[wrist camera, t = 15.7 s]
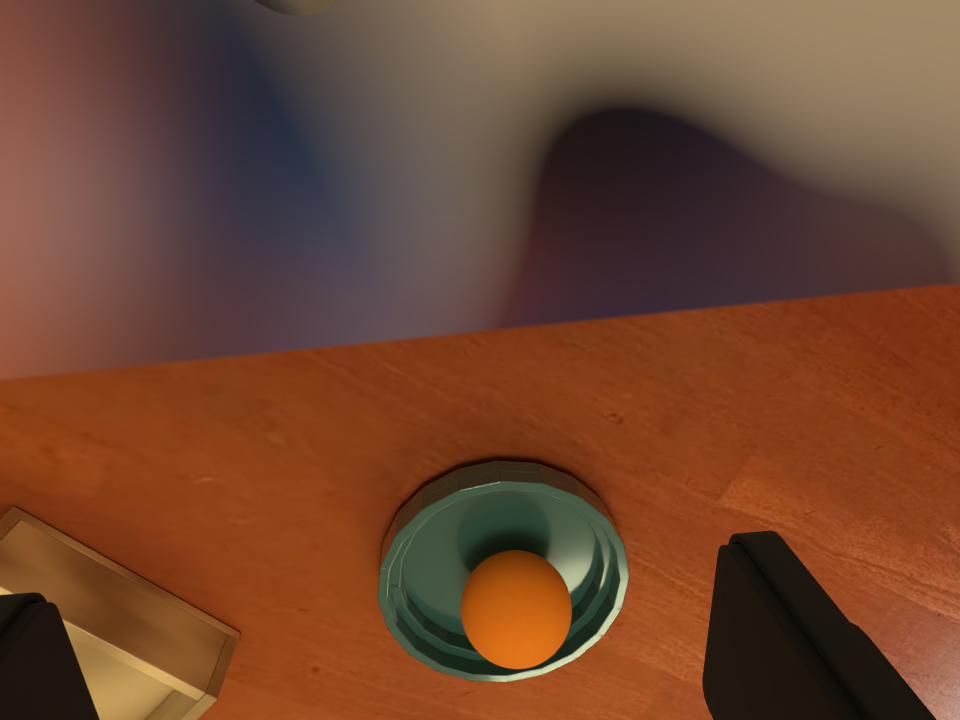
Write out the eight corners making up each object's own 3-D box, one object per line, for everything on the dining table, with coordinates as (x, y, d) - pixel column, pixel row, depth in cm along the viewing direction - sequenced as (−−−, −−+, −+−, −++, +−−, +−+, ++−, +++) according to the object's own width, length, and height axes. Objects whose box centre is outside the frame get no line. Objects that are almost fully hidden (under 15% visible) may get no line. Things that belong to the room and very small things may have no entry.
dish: (332, 572, 41) (326, 604, 38) (494, 410, 37) (499, 433, 35) (504, 680, 46) (509, 715, 43) (662, 545, 42) (678, 574, 39)
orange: (429, 580, 40) (450, 675, 35) (501, 511, 39) (535, 600, 33) (501, 613, 43) (530, 705, 38) (570, 551, 42) (611, 638, 36)
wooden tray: (-110, 663, 41) (-180, 736, 36) (14, 505, 37) (-46, 563, 33) (112, 764, 46) (75, 840, 41) (241, 632, 42) (217, 699, 37)
